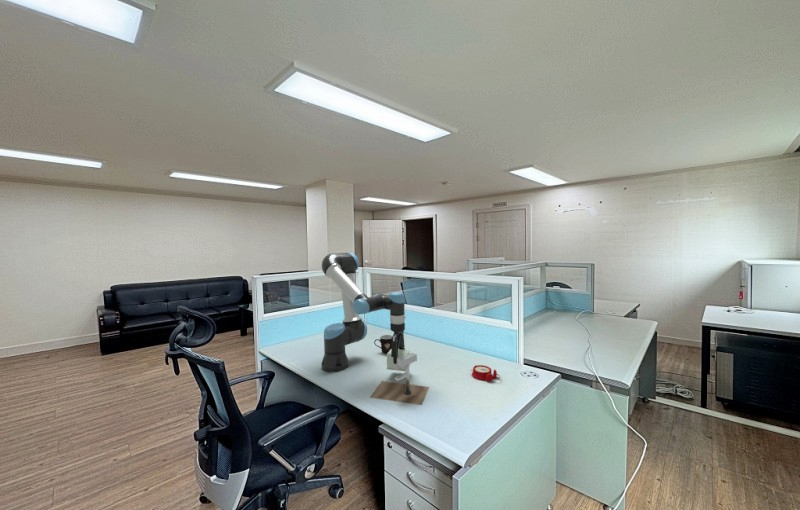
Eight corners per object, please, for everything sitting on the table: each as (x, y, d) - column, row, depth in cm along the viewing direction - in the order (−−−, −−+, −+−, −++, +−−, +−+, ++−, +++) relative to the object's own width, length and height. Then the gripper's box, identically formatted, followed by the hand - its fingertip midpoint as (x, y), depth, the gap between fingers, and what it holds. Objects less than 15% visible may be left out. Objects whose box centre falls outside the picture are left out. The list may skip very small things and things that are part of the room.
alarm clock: (476, 363, 165) (501, 364, 155) (478, 374, 165) (504, 376, 154) (466, 369, 158) (492, 370, 148) (468, 381, 157) (494, 384, 147)
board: (369, 399, 136) (369, 395, 136) (382, 382, 151) (382, 379, 151) (421, 407, 129) (421, 403, 129) (429, 388, 144) (429, 385, 144)
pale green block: (386, 369, 155) (386, 354, 154) (391, 363, 162) (391, 348, 162) (405, 371, 152) (405, 355, 151) (410, 365, 159) (409, 350, 159)
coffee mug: (395, 350, 196) (395, 335, 195) (390, 355, 187) (390, 339, 187) (379, 348, 199) (378, 333, 199) (373, 353, 191) (373, 337, 191)
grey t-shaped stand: (398, 398, 133) (398, 362, 132) (394, 395, 135) (393, 360, 134) (417, 388, 141) (416, 354, 141) (412, 386, 144) (412, 352, 143)
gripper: (398, 328, 145) (399, 375, 146) (409, 317, 165) (410, 358, 166) (383, 327, 147) (384, 373, 148) (396, 317, 167) (397, 357, 168)
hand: (398, 365), depth 157 cm, fingers closed on pale green block, 8 cm apart
